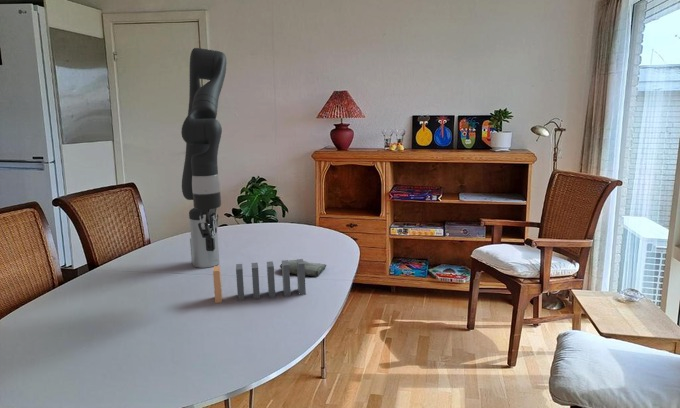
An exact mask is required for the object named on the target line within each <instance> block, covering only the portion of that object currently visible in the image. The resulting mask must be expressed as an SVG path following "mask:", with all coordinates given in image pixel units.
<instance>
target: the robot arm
mask: <svg viewBox="0 0 680 408" xmlns="http://www.w3.org/2000/svg"><path fill="white" fill-rule="evenodd" d="M226 73H227V57H226V54H225V53H224V52H222V51H219V50H213V49H209V48H208V49H207V48H201V47H200V48H199V47H194V48H193V49H192V50H191V52H190V56H189V99H188V102H189V103H188V109H187V111H188V112H187V116H186V117H185V119H184V121H183V122H182V125H181V137H182V139H183V141H184V142H185V155H184V163H183V169H182V170H183V171H182V176H181V177H182V178H181V192H182V195H183V197H184V198H185V199H186V200H187V201H192V202H193V207H192V208H191V209H190V210H189V212H188V216H189V217H188V218H189V219H188V220H189V228H190V230H189V231H190V232H189V233H190V238H189V244H190V246H189V247H190V256H191V259H190V260H191V264H192V265H193V267H195V268H200V269H201V268H204V269H206V268H212V267H214V266H219V264H220V253H219V252H220V251H219V249H220V248H219V236H218V235H219V234H218V224H219V223H218V222H219V214H217V209H218V208H220V207H221V206H222V199H221V198H222V196H221V183H220V182H221V181H220V178H219V170H218V152H219V146H220V142H221V139H222V132H223V131H222V130H223V129H222V125H221V123H220V121H219V120H217V115H218V108H219V107H218V106H219V99H220V95H221V92H222V89H223V85H224V81H225V77H226ZM201 80H207V81H208V82H206V83H204V84H203V85H202V86H201V82H200V81H201Z"/></svg>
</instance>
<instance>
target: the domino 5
mask: <svg viewBox="0 0 680 408" xmlns="http://www.w3.org/2000/svg"><path fill="white" fill-rule="evenodd" d="M288 261H289V259H287V260H286V259H283V260H281V264H282V269H281V272H282V273H281V274H282V276H281V277H282V291H283V292H282V293H283V295H284V297H291V295H292V294H291V293H292V292H291V275H290V274H291V273H290V270H289V263H288Z"/></svg>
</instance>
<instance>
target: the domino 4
mask: <svg viewBox="0 0 680 408" xmlns="http://www.w3.org/2000/svg"><path fill="white" fill-rule="evenodd" d="M266 273H267V275H266V277H267V291H268V298H269V299H271V298H276V287H275V285H276V283H275V266H274V261H266Z"/></svg>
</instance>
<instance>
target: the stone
mask: <svg viewBox="0 0 680 408" xmlns="http://www.w3.org/2000/svg"><path fill="white" fill-rule="evenodd" d="M303 261H304V264H305V276H311V277H315V278H318V277H319V276H320V275H321V273H322V272H323V271H325V269H326V267H327V264H324V263H316V262H315V263H314V262H308V261H306V260H303ZM288 263H289V270H290V274H291V275H292V274H293V275H295V276H297V259H292V260H291V259H290V260H289V259H288ZM279 268H280V269H281V270H282V263H281V264H280V265H279Z"/></svg>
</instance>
